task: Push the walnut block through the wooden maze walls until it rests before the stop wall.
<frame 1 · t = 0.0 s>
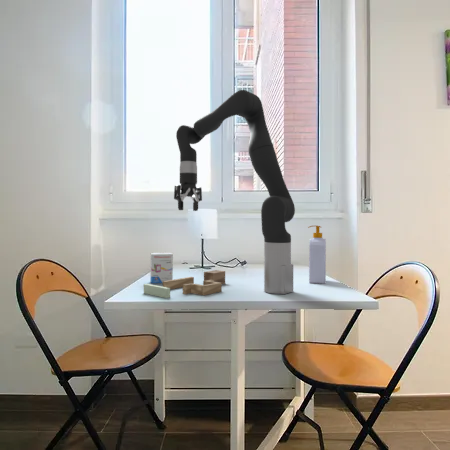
hand: (188, 210, 152), 29 cm above the table, fingers open, 8 cm apart
walnut block: (214, 284, 138), on the table
stop wall: (156, 295, 116), on the table
ink box: (161, 282, 142), on the table
wooden maze walls: (188, 288, 127), on the table
soap bottle: (316, 282, 143), on the table
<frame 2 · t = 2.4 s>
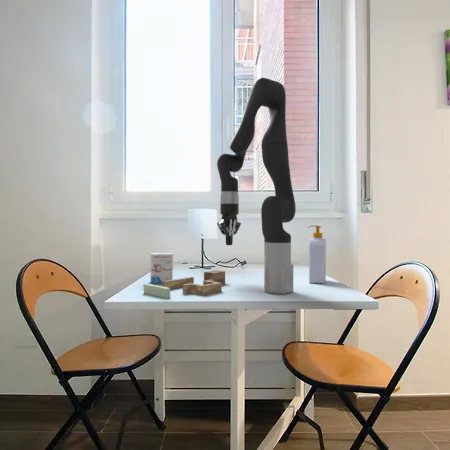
hand: (229, 245, 145), 15 cm above the table, fingers closed
nothing on the table moved.
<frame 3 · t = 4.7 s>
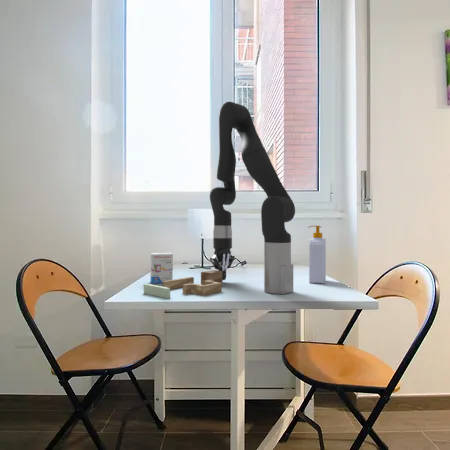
hand: (222, 279, 142), 1 cm above the table, fingers closed
walnut block: (211, 284, 137), on the table
everything else where it was.
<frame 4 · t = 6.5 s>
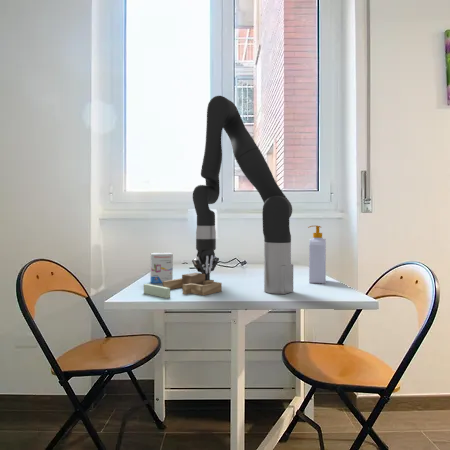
hand: (205, 282, 134), 1 cm above the table, fingers closed
walnut block: (193, 287, 130), on the table, touching gripper
everything else where it was.
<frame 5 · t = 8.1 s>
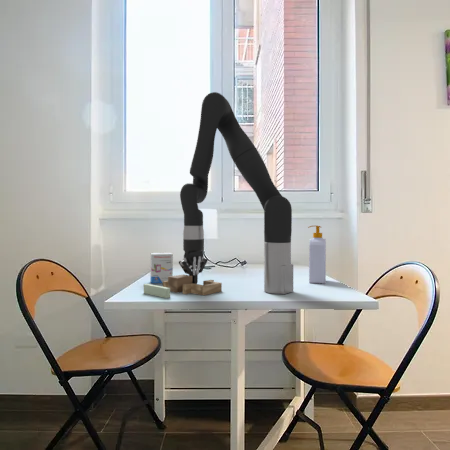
hand: (193, 285, 130), 1 cm above the table, fingers closed
walnut block: (180, 290, 125), on the table, touching gripper
everything else where it was.
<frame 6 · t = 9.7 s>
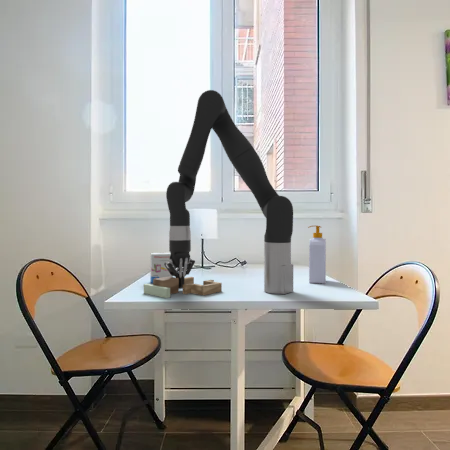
hand: (180, 287, 125), 1 cm above the table, fingers closed
walnut block: (165, 293, 120), on the table, touching gripper, stop wall
everything else where it was.
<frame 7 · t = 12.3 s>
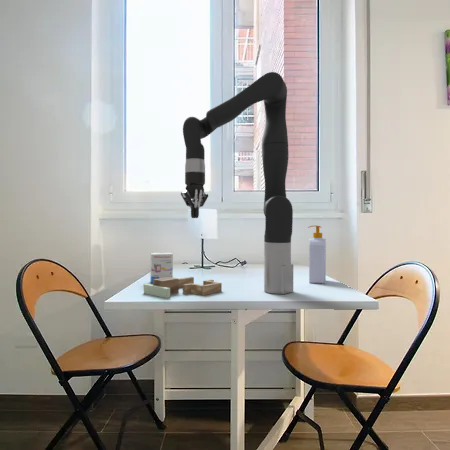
hand: (194, 218, 133), 26 cm above the table, fingers closed
walnut block: (165, 293, 120), on the table
everything else where it was.
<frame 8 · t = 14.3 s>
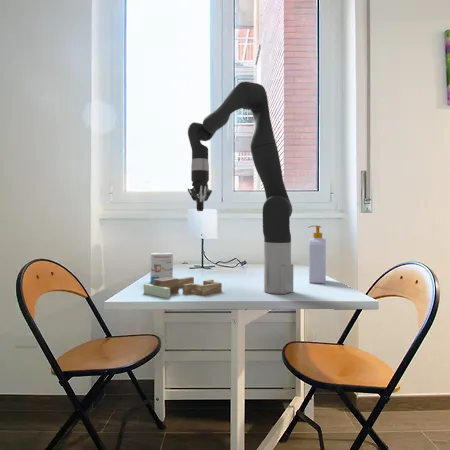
hand: (200, 211, 150), 29 cm above the table, fingers closed
nothing on the table moved.
at the end: walnut block inside the target area (0.8 cm from its centre), on the table; walnut block tilted 0° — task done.
